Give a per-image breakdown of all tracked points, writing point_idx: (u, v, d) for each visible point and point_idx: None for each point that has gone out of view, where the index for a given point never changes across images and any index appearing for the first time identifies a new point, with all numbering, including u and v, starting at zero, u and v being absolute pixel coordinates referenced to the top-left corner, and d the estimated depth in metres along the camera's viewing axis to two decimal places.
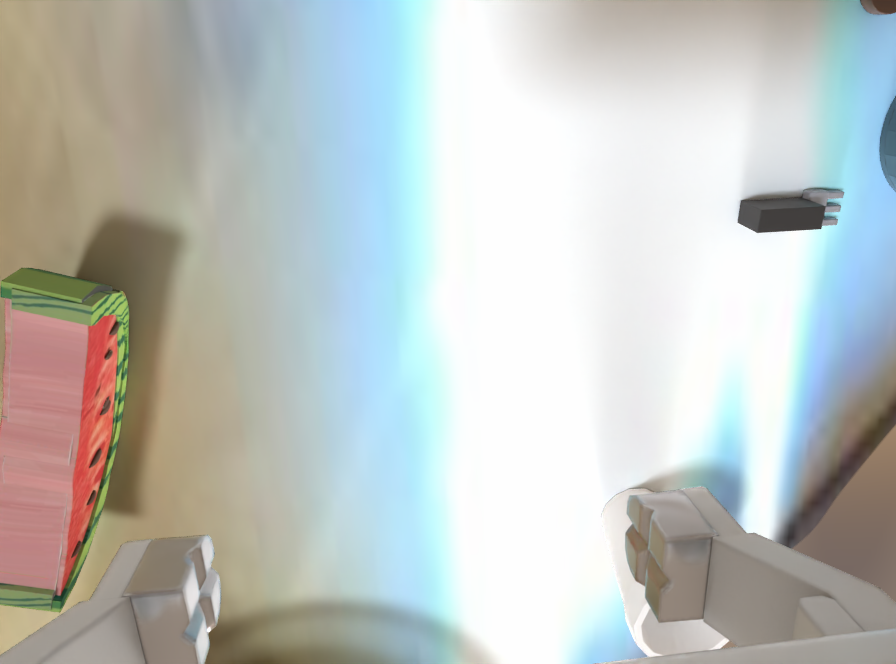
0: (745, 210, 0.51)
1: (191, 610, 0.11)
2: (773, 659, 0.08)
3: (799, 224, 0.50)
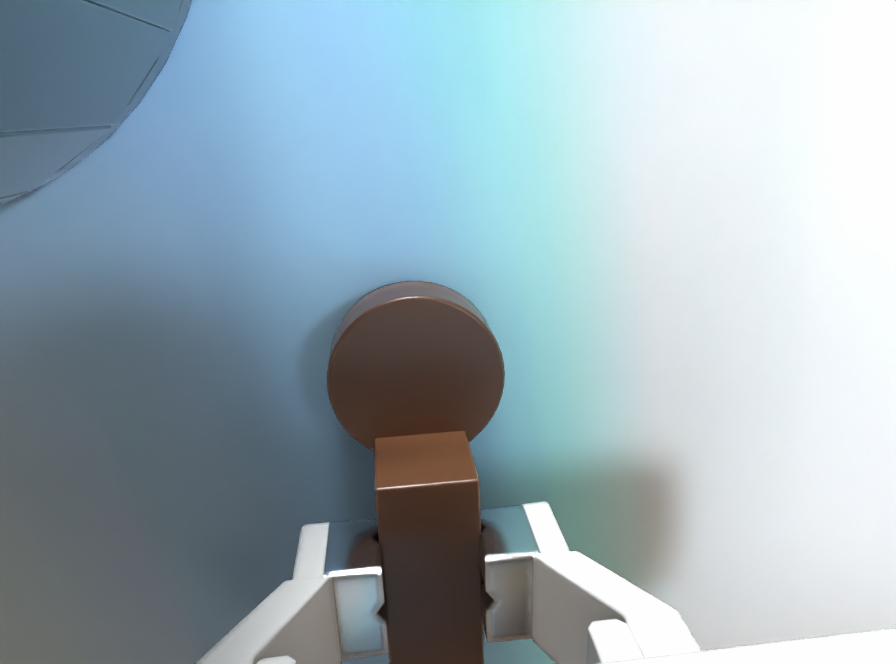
0: None
1: (383, 590, 0.11)
2: (773, 659, 0.08)
3: None
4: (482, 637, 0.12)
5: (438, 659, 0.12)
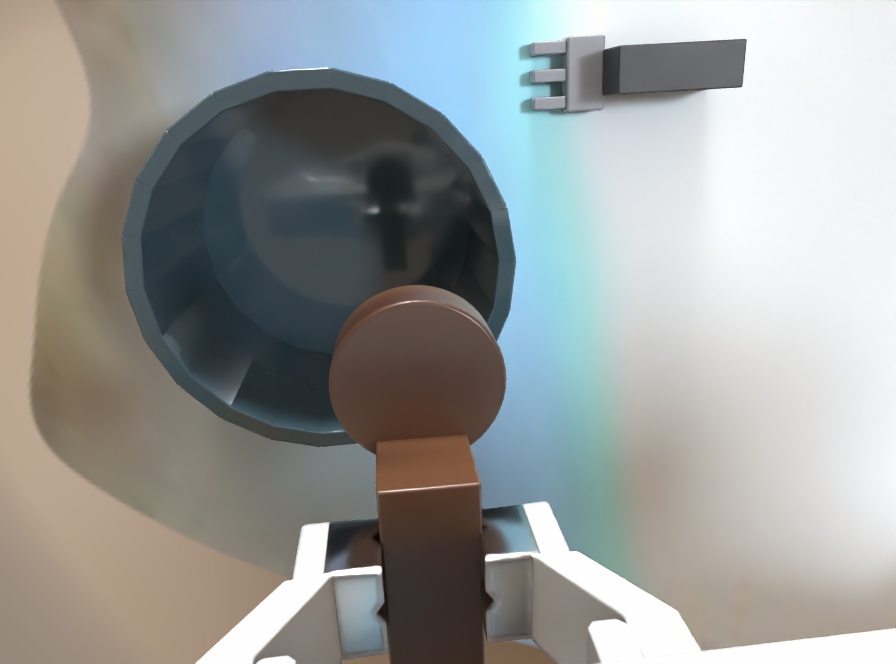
0: None
1: (383, 590, 0.11)
2: (773, 659, 0.08)
3: (665, 56, 0.26)
4: (483, 641, 0.12)
5: (439, 662, 0.12)
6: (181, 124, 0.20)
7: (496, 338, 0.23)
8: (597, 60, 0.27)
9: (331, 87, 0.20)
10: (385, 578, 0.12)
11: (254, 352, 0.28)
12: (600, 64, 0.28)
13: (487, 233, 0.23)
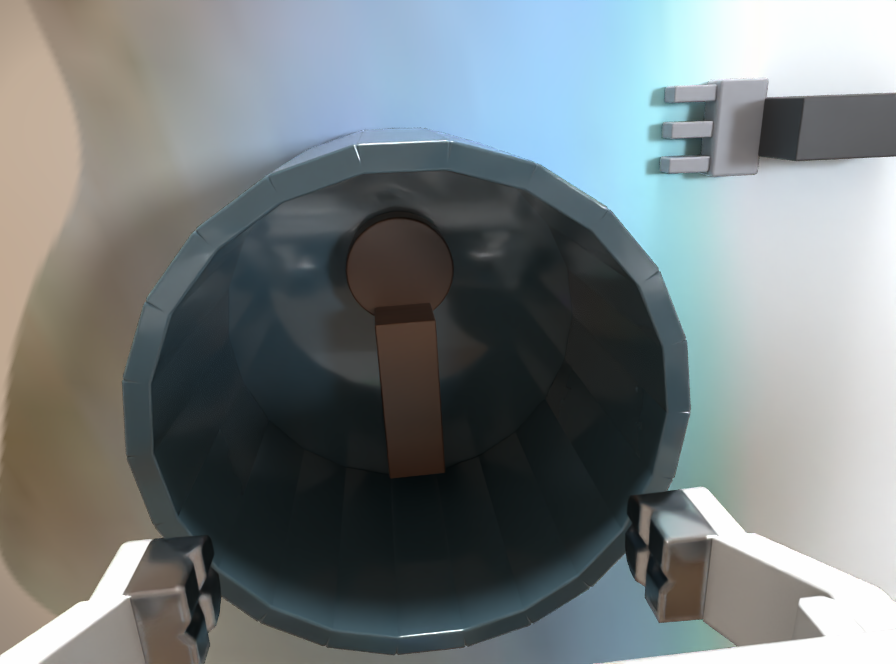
0: None
1: (191, 610, 0.11)
2: (773, 659, 0.08)
3: (862, 112, 0.19)
4: (441, 423, 0.20)
5: (415, 437, 0.20)
6: (218, 221, 0.13)
7: None
8: (756, 111, 0.21)
9: (448, 169, 0.13)
10: (381, 380, 0.20)
11: (294, 489, 0.21)
12: (759, 116, 0.21)
13: (637, 360, 0.17)
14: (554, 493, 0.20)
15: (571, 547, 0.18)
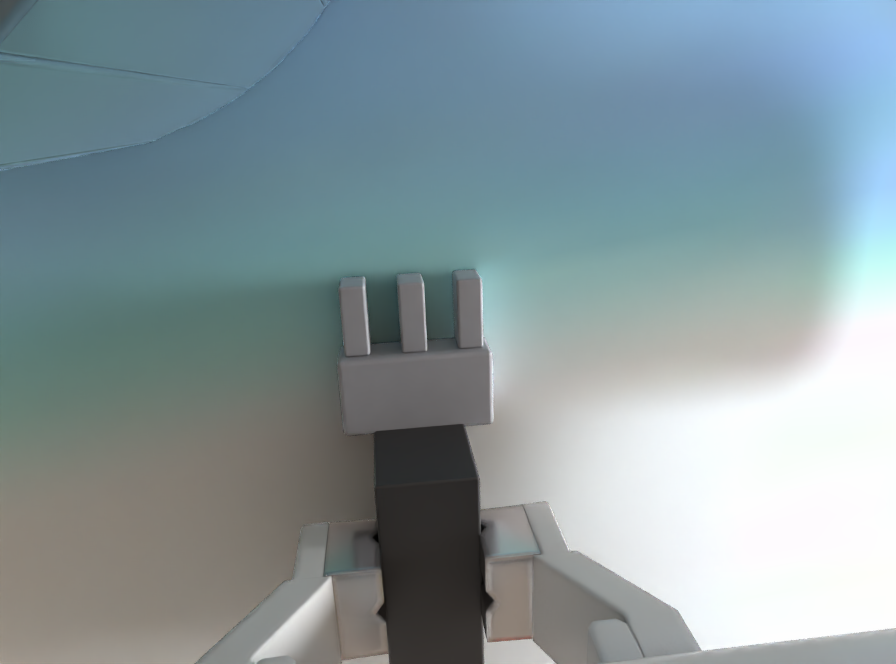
0: None
1: (383, 590, 0.11)
2: (773, 659, 0.08)
3: (455, 570, 0.12)
4: None
5: None
6: None
7: None
8: (443, 414, 0.13)
9: None
10: None
11: None
12: (435, 421, 0.13)
13: None
14: None
15: None
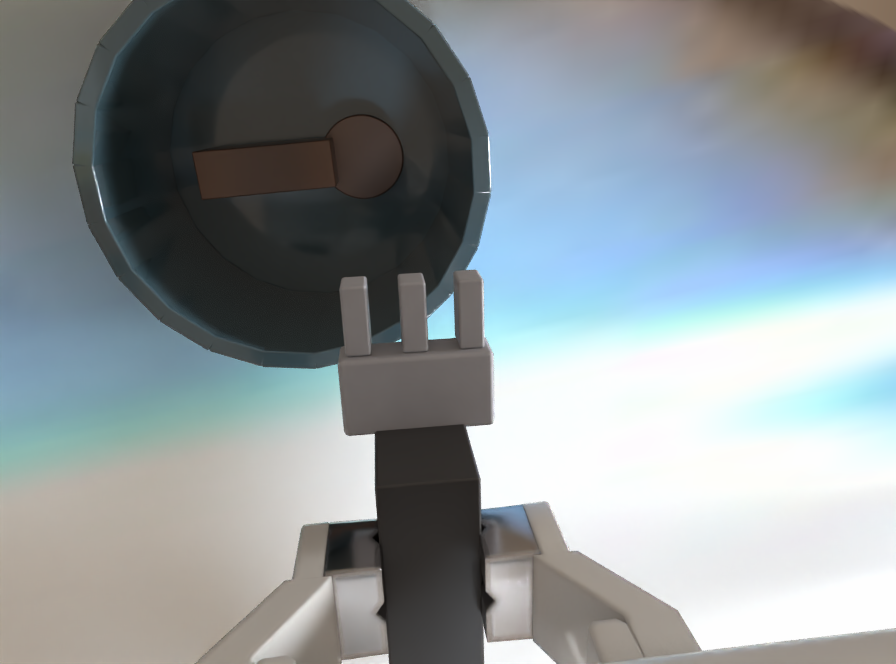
0: None
1: (383, 590, 0.11)
2: (773, 659, 0.08)
3: (456, 571, 0.12)
4: (248, 194, 0.25)
5: (233, 173, 0.25)
6: (440, 41, 0.20)
7: (231, 356, 0.22)
8: (444, 415, 0.13)
9: (474, 193, 0.21)
10: (282, 144, 0.25)
11: (171, 65, 0.24)
12: (436, 421, 0.13)
13: (336, 332, 0.24)
14: (205, 289, 0.25)
15: (183, 303, 0.22)
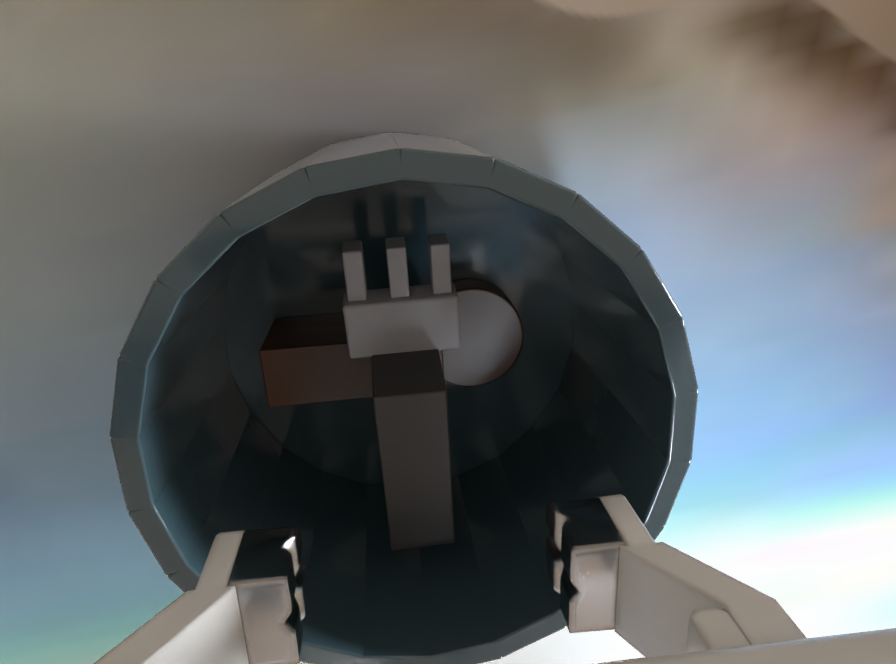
0: None
1: (292, 600, 0.11)
2: (773, 659, 0.08)
3: (431, 453, 0.17)
4: (329, 401, 0.19)
5: (312, 376, 0.19)
6: (648, 273, 0.14)
7: None
8: (422, 342, 0.17)
9: (668, 462, 0.15)
10: None
11: (237, 243, 0.18)
12: (417, 347, 0.17)
13: (449, 602, 0.18)
14: None
15: None
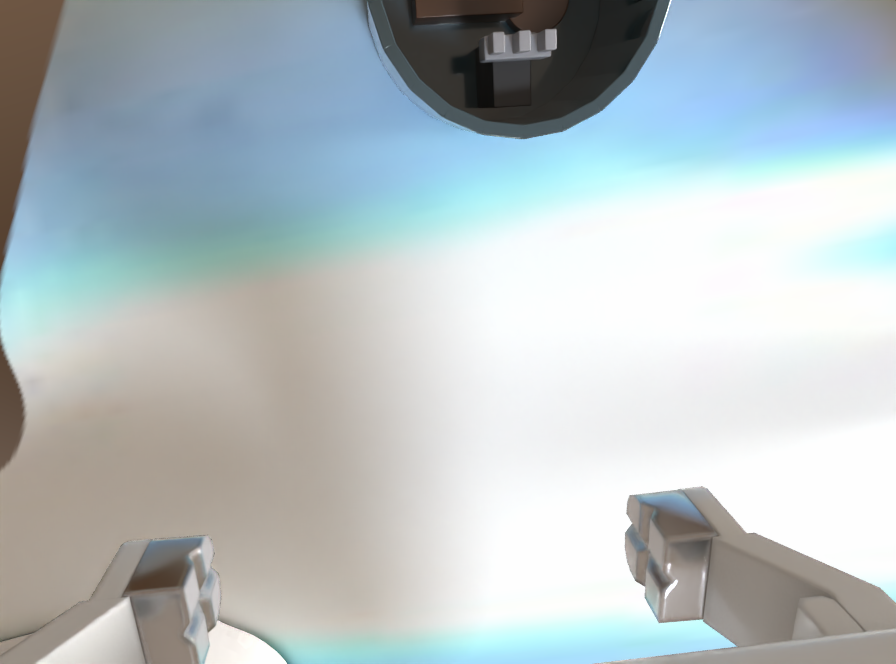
0: None
1: (191, 610, 0.11)
2: (773, 659, 0.08)
3: None
4: (453, 15, 0.31)
5: None
6: None
7: (460, 123, 0.28)
8: (523, 59, 0.30)
9: None
10: None
11: None
12: (519, 60, 0.30)
13: (529, 121, 0.30)
14: None
15: None
